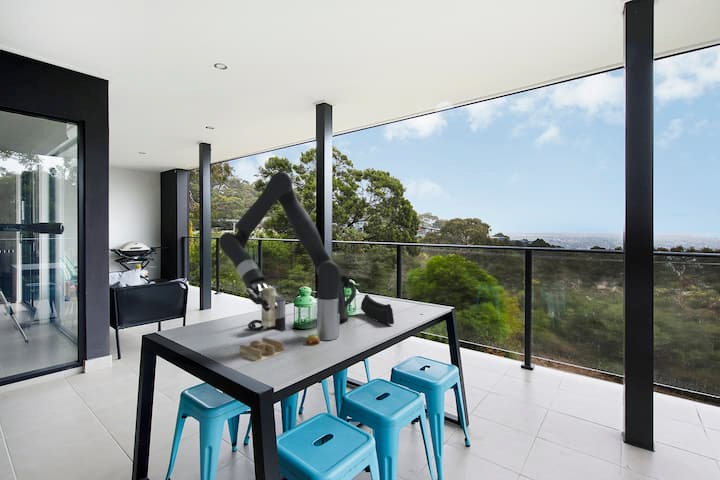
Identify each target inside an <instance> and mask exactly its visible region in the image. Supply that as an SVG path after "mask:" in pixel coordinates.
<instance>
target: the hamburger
mask: <svg viewBox="0 0 720 480" xmlns="http://www.w3.org/2000/svg"><path fill="white" fill-rule="evenodd" d="M305 341H306V344H307V345H311V346H317V345H318V344H319V343H320V339H319V337H318V336H317V334H315V333H313V334H309V335H308V336H307V337H306V340H305Z"/></svg>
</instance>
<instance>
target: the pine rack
mask: <svg viewBox="0 0 720 480" xmlns="http://www.w3.org/2000/svg"><path fill="white" fill-rule="evenodd" d="M254 341H256V340H252V342H254ZM261 342H263V343H265V344H266V347H265V350H267V354H265V355H262V350H259V349H256V348H252V347H249V346H250V345H244V344H243V343H242V344H239V352H237V353H236V355H238V356H240V357H243V358H246V359H249V360H253V361H256V362H259V361H262V360H264V359H267V358H269V357H270V358H271V357H273V356H275V355H278V354H280V353H283V352H286V351H287V349H286V348H285V343H284V342H283V341H278V340H276V339H275V340H274V339H270V338H267V337H261Z"/></svg>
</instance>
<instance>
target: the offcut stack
mask: <svg viewBox="0 0 720 480" xmlns="http://www.w3.org/2000/svg"><path fill="white" fill-rule="evenodd" d="M253 341H254V340H253ZM253 341H251V342H249V345H248V346H249V347H252V348H256V349H259V350H262V355H265V354H267V350H265V347H266V344H265V343H263V342H262V341H259V340H255V341H254V342H253Z"/></svg>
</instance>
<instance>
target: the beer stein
mask: <svg viewBox="0 0 720 480" xmlns="http://www.w3.org/2000/svg"><path fill="white" fill-rule="evenodd" d="M345 288H350V291H351V293H350V296H349V297H348V298H347V299H346V292H345ZM356 295H357V286H356V284H355V283H354V282H353V281H350V277H349V276H347V275H343V274H341V273H340V288H339V299H338V314H339V315H340V319H339V325H343V323H344V324H346V323H347V322H348V321H349V311H348V308H347V307H348V306H349V305H350V304H351V303H352V302H353V300H354V299H355V297H356ZM345 322H346V323H345Z"/></svg>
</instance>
